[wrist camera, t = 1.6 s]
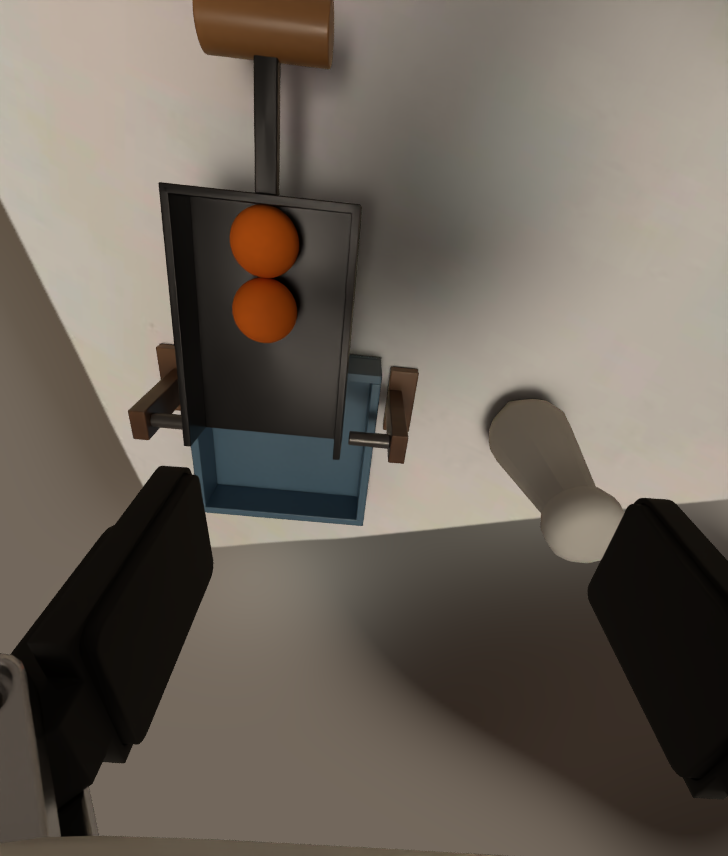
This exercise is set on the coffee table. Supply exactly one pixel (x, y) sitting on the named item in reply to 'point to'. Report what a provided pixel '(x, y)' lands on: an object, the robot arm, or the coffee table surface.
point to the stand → (399, 404)
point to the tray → (294, 463)
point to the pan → (222, 275)
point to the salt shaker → (555, 478)
